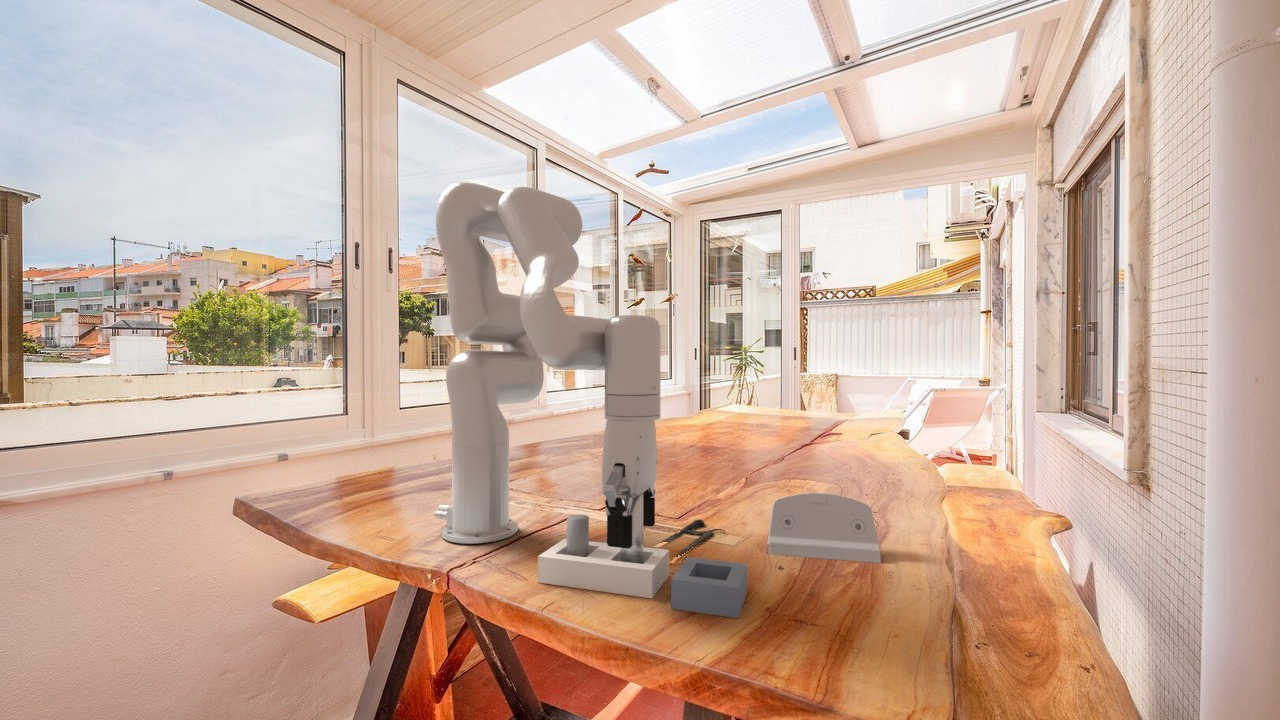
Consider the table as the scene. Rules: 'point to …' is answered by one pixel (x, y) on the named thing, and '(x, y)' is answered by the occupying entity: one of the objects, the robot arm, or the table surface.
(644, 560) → the rack
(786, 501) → the grey wall bracket
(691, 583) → the socket block
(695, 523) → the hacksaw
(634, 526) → the grey peg
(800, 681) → the table surface
